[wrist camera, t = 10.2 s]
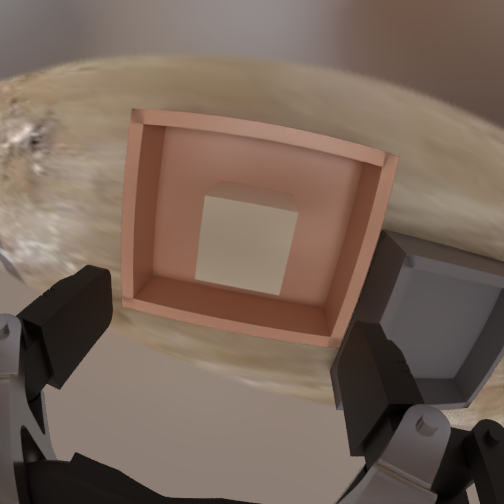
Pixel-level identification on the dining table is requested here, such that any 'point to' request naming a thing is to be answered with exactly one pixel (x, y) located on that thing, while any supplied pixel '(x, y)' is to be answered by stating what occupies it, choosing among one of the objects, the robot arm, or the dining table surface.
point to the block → (246, 237)
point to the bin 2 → (435, 316)
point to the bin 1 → (259, 175)
